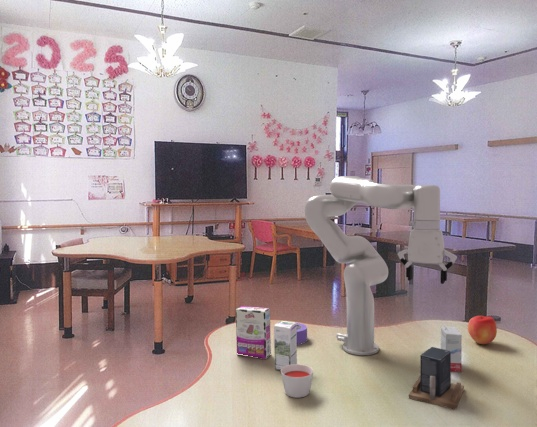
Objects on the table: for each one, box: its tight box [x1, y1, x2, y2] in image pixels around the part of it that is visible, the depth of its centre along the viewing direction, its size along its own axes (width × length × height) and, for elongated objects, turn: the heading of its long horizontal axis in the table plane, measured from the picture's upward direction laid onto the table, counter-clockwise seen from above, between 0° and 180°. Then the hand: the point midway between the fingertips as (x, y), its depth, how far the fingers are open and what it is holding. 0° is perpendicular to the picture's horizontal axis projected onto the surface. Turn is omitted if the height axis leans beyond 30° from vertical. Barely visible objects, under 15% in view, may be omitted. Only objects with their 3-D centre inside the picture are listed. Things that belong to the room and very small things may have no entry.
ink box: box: [440, 325, 463, 373], centre depth 142 cm, size 9×5×12 cm, turn 168°
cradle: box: [408, 375, 465, 410], centre depth 124 cm, size 12×13×7 cm
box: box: [419, 346, 452, 397], centre depth 124 cm, size 8×6×11 cm
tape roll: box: [295, 322, 308, 345], centre depth 169 cm, size 12×12×5 cm
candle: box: [280, 363, 314, 399], centre depth 126 cm, size 9×9×6 cm
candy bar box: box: [235, 305, 272, 360], centre depth 154 cm, size 11×5×16 cm, turn 68°
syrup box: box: [273, 320, 298, 371], centre depth 142 cm, size 6×6×14 cm
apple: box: [467, 315, 498, 345], centre depth 162 cm, size 10×10×10 cm
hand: (426, 281), depth 137 cm, fingers open, 9 cm apart
